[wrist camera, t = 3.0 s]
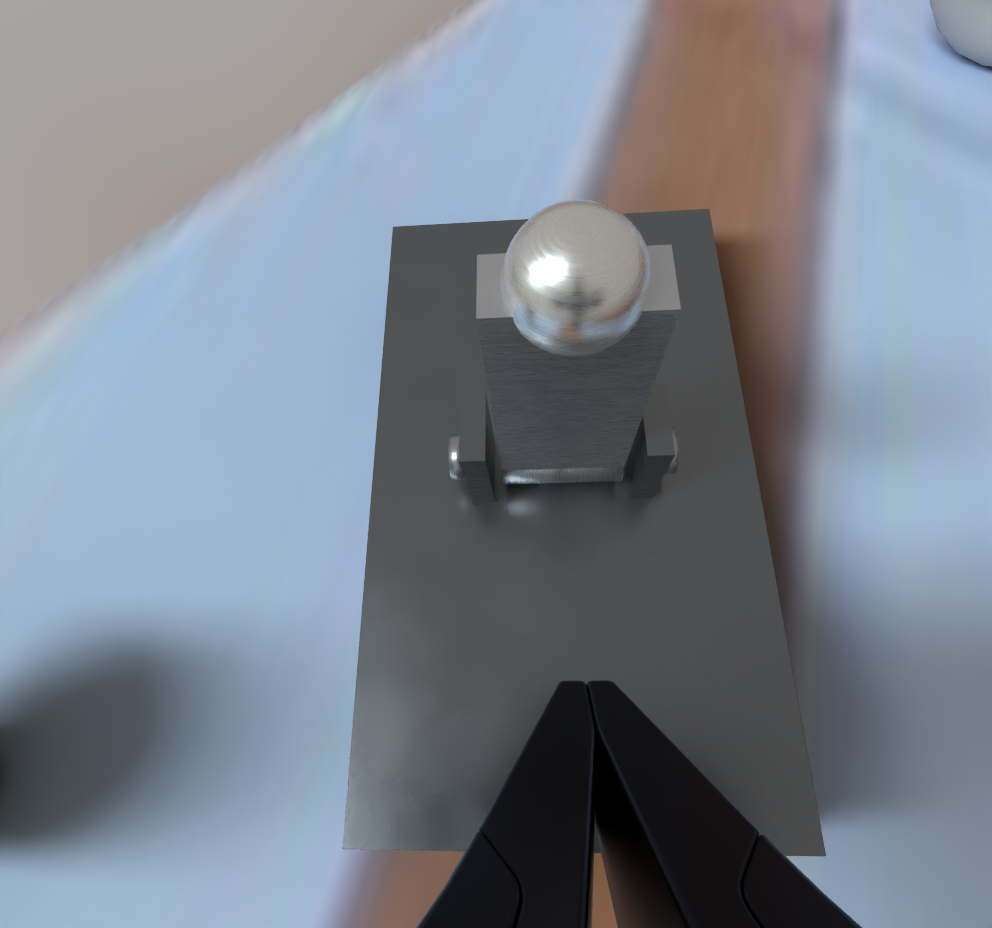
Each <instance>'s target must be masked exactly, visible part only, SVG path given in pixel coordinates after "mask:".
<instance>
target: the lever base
mask: <svg viewBox="0 0 992 928" xmlns="http://www.w3.org/2000/svg"><path fill="white" fill-rule="evenodd" d="M623 215H625V216H626V217H627V218H628V219H629V220H630V221H631V222H632V223H633V224H634V225H635V227H636V228H637V229H638V230H639V232H640V234H641V235H642V237H643V239H644V241H645V243H646V246H652V245H671V244H672V251H673V258H674V265H675V272H676V279H677V286H678V293H679V300H680V307H681V310H680V313H679V316H678V319H677V322H676V324H675V327H674V330H673V333H672V336H671V338H670V341H669V344H668V347H667V349H666V352H665V355H664V358H663V361H662V363H661V366H660V369H659V372H658V375H657V377H656V380H655V383H654V386H653V388H652V391H651V394H650V397H649V400H648V402H647V405H646V408H645V411H644V414H643V416H642V419H641V422H640V425H639V428H638V430H637V433H636V436H635V439H634V441H633V444H632V447H631V450H630V453H629V455H628V458H627V461H626V464H625V467H624V474H623V479H622V481H608V482H571V483H534V484H504V483H503V473H502V466H501V460H500V454H499V448H498V442H497V437H496V431H495V425H494V419H493V413H492V407H491V402H490V396H489V390H488V384H487V378H486V373H485V367H484V361H483V355H482V349H481V343H480V338H479V332H478V326H477V320H476V298H477V255H482V254H501V253H506V252H507V250H508V247H509V245H510V243H511V241H512V239H513V238H514V236H515V235H516V233H517V232H518V230H519V229H520V228H521V227H522V225H524V224H525V223H526V222H527V221H528V220H529V219H524V220H506V221H488V222H471V223H453V224H435V225H418V226H400V227H393V234H392V247H391V259H390V271H389V284H388V296H387V308H386V321H385V333H384V345H383V358H382V370H381V382H380V395H379V407H378V419H377V432H376V444H375V456H374V469H373V481H372V493H371V506H370V518H369V530H368V543H367V555H366V567H365V580H364V592H363V604H362V617H361V629H360V641H359V654H358V666H357V678H356V691H355V703H354V715H353V728H352V740H351V752H350V765H349V777H348V790H347V802H346V814H345V827H344V839H343V849H362V850H431V851H466V850H467V848H468V846H469V844H470V842H471V841H472V839H473V837H474V835H475V834H476V833H477V832H479V828H480V826H481V824H482V822H483V820H484V818H485V817H486V815H487V813H488V811H489V809H490V808H491V806H492V804H493V802H494V800H495V798H496V797H497V795H498V793H499V791H500V789H501V788H502V786H503V784H504V782H505V780H506V778H507V777H508V775H509V773H510V771H511V769H512V768H513V766H514V764H515V762H516V760H517V758H518V757H519V755H520V753H521V751H522V749H523V747H524V746H525V744H526V742H527V740H528V738H529V737H530V735H531V733H532V731H533V729H534V727H535V726H536V724H537V722H538V720H539V718H540V717H541V715H542V713H543V711H544V709H545V707H546V706H547V704H548V702H549V700H550V698H551V697H552V695H553V693H554V691H555V689H556V687H557V686H558V684H559V683H560V682H561V681H583V682H585V684H586V685H587V683H588V682H589V681H604V680H609V681H612V682H614V683H615V684H616V685H617V686H618V687H619V688H620V689H621V690H622V691H623V692H624V693H625V694H626V695H627V696H628V697H629V698H630V699H631V700H632V701H633V702H634V703H635V704H636V706H637V707H638V708H639V709H640V710H641V711H642V712H643V713H644V714H645V715H646V716H647V717H648V718H649V719H650V720H651V721H652V722H653V723H654V724H655V725H656V726H657V727H658V728H659V729H660V730H661V731H662V732H663V733H664V734H665V735H666V736H667V737H668V738H669V739H670V740H671V741H672V742H673V743H674V744H675V745H676V746H677V747H678V748H679V749H680V750H681V751H682V752H683V753H684V755H685V756H686V757H687V758H688V759H689V760H690V761H691V762H692V763H693V764H694V765H695V766H696V767H697V768H698V769H699V770H700V771H701V772H702V773H703V774H704V775H705V776H706V777H707V778H708V779H709V780H710V781H711V782H712V783H713V784H714V785H715V786H716V787H717V788H718V789H719V790H720V791H721V792H722V793H723V794H724V795H725V796H726V797H727V798H728V799H729V800H730V801H731V802H732V804H733V805H734V806H735V807H736V808H737V809H738V810H739V811H740V812H741V813H742V814H743V815H744V816H745V817H746V818H747V819H748V820H749V821H750V822H751V823H752V824H753V825H754V826H755V827H756V828H757V829H758V830H759V832H760V835H765V836H766V837H767V838H768V839H769V840H770V841H771V842H772V843H773V844H774V845H775V846H776V847H777V848H778V849H779V850H780V851H781V852H782V853H783V854H784V855H785V856H826V854H825V848H824V843H823V837H822V832H821V826H820V820H819V815H818V809H817V804H816V798H815V793H814V787H813V782H812V776H811V771H810V765H809V760H808V754H807V749H806V743H805V737H804V732H803V726H802V721H801V715H800V710H799V704H798V699H797V693H796V688H795V682H794V677H793V671H792V665H791V660H790V654H789V649H788V643H787V638H786V632H785V627H784V621H783V616H782V610H781V605H780V599H779V593H778V588H777V582H776V577H775V571H774V566H773V560H772V555H771V549H770V544H769V538H768V533H767V527H766V522H765V516H764V510H763V505H762V499H761V494H760V488H759V483H758V477H757V472H756V466H755V461H754V455H753V450H752V444H751V438H750V433H749V427H748V422H747V416H746V411H745V405H744V400H743V394H742V389H741V383H740V378H739V372H738V366H737V361H736V355H735V350H734V344H733V339H732V333H731V328H730V322H729V317H728V311H727V306H726V300H725V295H724V289H723V283H722V278H721V272H720V267H719V261H718V256H717V250H716V245H715V239H714V234H713V228H712V223H711V217H710V211H709V209H700V210H682V211H665V212H647V213H629V214H623ZM594 853H601V849H600V844H599V840H598V835H597V829H596V824H595V834H594Z"/></svg>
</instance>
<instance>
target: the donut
mask: <svg viewBox="0 0 992 928" xmlns="http://www.w3.org/2000/svg"><path fill="white" fill-rule="evenodd" d="M930 5H931V9H932V12H933V15H934V19H935V22H936V25H937V29H938V31H939V32H940V33H941V35H942V36H943V37H944V38H945V39H946V40H947V42H948V43H949V44H950V45H951V46H952V47H953V49H954V50H955V51H956V52H957V53H959V54H961V55H963V56H965V57H967V58H969V59H971V60H973V61H975V62H977V63H979V64H980V65H983V66H991V67H992V0H930Z"/></svg>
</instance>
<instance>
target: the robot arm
mask: <svg viewBox="0 0 992 928" xmlns="http://www.w3.org/2000/svg"><path fill="white" fill-rule="evenodd" d="M595 824H596V829H597V835H598V840H599V844H600V849H601V853H602V858H603V862H604V867H605V871H606V876H607V880H608V885H609V889H610V894H611V898H612V903H613V907H614V912H615V916H616V921H617V925H618V928H862V927H861V926H860V925H858V924H857V923H856V922H855V921H854V920H853V919H852V918H851V917H850V916H848V915H847V914H846V913H845V912H844V911H843V910H842V909H841V908H839V907H838V906H837V905H836V904H835V903H834V902H833V901H832V900H831V899H829V898H828V897H827V896H826V895H825V894H824V893H823V892H822V891H821V890H820V889H819V888H818V887H817V886H816V885H814V884H813V883H812V882H811V881H810V880H809V879H808V878H807V877H806V876H805V875H804V874H803V873H802V872H801V871H800V870H799V869H798V868H797V867H796V866H795V865H794V864H793V863H792V862H791V861H790V860H789V859H788V858H787V857H786V856H785V855H784V854H783V853H782V852H781V851H780V850H779V849H778V848H777V847H776V846H775V845H774V844H773V843H772V842H771V841H770V840H769V839H768V838H767V837H766V836H765V835H760V832H759V830H758V829H757V828H756V827H755V826H754V825H753V824H752V823H751V822H750V821H749V820H748V819H747V818H746V817H745V816H744V815H743V814H742V813H741V812H740V811H739V810H738V809H737V808H736V807H735V806H734V805H733V804H732V802H731V801H730V800H729V799H728V798H727V797H726V796H725V795H724V794H723V793H722V792H721V791H720V790H719V789H718V788H717V787H716V786H715V785H714V784H713V783H712V782H711V781H710V780H709V779H708V778H707V777H706V776H705V775H704V774H703V773H702V772H701V771H700V770H699V769H698V768H697V767H696V766H695V765H694V764H693V763H692V762H691V761H690V760H689V759H688V758H687V757H686V756H685V755H684V753H683V752H682V751H681V750H680V749H679V748H678V747H677V746H676V745H675V744H674V743H673V742H672V741H671V740H670V739H669V738H668V737H667V736H666V735H665V734H664V733H663V732H662V731H661V730H660V729H659V728H658V727H657V726H656V725H655V724H654V723H653V722H652V721H651V720H650V719H649V718H648V717H647V716H646V715H645V714H644V713H643V712H642V711H641V710H640V709H639V708H638V707H637V706H636V704H635V703H634V702H633V701H632V700H631V699H630V698H629V697H628V696H627V695H626V694H625V693H624V692H623V691H622V690H621V689H620V688H619V687H618V686H617V685H616V684H615V683H614V682H612V681H609V680H604V681H589V682H588V683H587V685H586V684H585V682H583V681H561V682H560V683H559V684H558V686H557V687H556V689H555V691H554V693H553V695H552V697H551V698H550V700H549V702H548V704H547V706H546V707H545V709H544V711H543V713H542V715H541V717H540V718H539V720H538V722H537V724H536V726H535V727H534V729H533V731H532V733H531V735H530V737H529V738H528V740H527V742H526V744H525V746H524V747H523V749H522V751H521V753H520V755H519V757H518V758H517V760H516V762H515V764H514V766H513V768H512V769H511V771H510V773H509V775H508V777H507V778H506V780H505V782H504V784H503V786H502V788H501V789H500V791H499V793H498V795H497V797H496V798H495V800H494V802H493V804H492V806H491V808H490V809H489V811H488V813H487V815H486V817H485V818H484V820H483V822H482V824H481V826H480V828H479V832H477V833H476V834H475V835H474V837H473V839H472V841H471V842H470V844H469V846H468V848H467V850H466V852H465V853H464V855H463V857H462V859H461V860H460V862H459V864H458V865H457V867H456V869H455V870H454V872H453V874H452V875H451V877H450V879H449V880H448V882H447V884H446V885H445V887H444V889H443V890H442V891H441V893H440V894H439V896H438V897H437V899H436V900H435V902H434V903H433V905H432V906H431V907H430V909H429V910H428V912H427V913H426V915H425V916H424V918H423V919H422V920H421V922H420V923H419V925H418V926H417V928H592V903H593V870H594V834H595Z"/></svg>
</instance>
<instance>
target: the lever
mask: <svg viewBox="0 0 992 928" xmlns="http://www.w3.org/2000/svg"><path fill="white" fill-rule="evenodd" d="M680 310H681V307H680V300H679V293H678V286H677V279H676V272H675V265H674V258H673V251H672V244H671V245H652V246H646V243H645V241H644V239H643V237H642V235H641V234H640V232H639V230H638V229H637V228H636V227H635V225H634V224H633V223H632V222H631V221H630V220H629V219H628V218H627V217H626V216H625V215H623V214H622V213H621V212H619V211H617V210H616V209H614V208H612V207H610V206H608V205H606V204H603V203H600V202H597V201H591V200H568V201H563V202H559V203H556V204H553V205H551V206H549V207H546V208H544V209H543V210H541V211H539V212H537V213H536V214H535V215H533V216H532V217H531V218H530V219H529V220H528V221H527V222H526V223H525V224H524V225H522V227H521V228H520V229H519V230H518V232H517V233H516V235H515V236H514V238H513V239H512V241H511V243H510V245H509V247H508V250H507V252H506V253H501V254H482V255H477V298H476V320H477V326H478V332H479V338H480V343H481V349H482V355H483V361H484V367H485V373H486V378H487V384H488V390H489V396H490V402H491V407H492V413H493V419H494V425H495V431H496V437H497V442H498V448H499V454H500V460H501V466H502V473H503V483H504V484H534V483H571V482H608V481H622V479H623V474H624V467H625V464H626V461H627V458H628V455H629V453H630V450H631V447H632V444H633V441H634V439H635V436H636V433H637V430H638V428H639V425H640V422H641V419H642V416H643V414H644V411H645V408H646V405H647V402H648V400H649V397H650V394H651V391H652V388H653V386H654V383H655V380H656V377H657V375H658V372H659V369H660V366H661V363H662V361H663V358H664V355H665V352H666V349H667V347H668V344H669V341H670V338H671V336H672V333H673V330H674V327H675V324H676V322H677V319H678V316H679V313H680Z"/></svg>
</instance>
